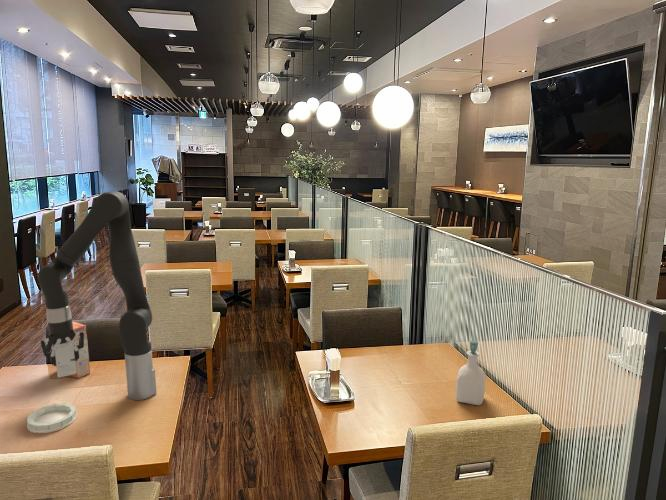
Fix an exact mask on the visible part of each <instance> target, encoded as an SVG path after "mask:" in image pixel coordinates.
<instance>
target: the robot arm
mask: <svg viewBox="0 0 666 500" xmlns="http://www.w3.org/2000/svg"><path fill="white" fill-rule="evenodd" d="M129 205H130V204H129V200H128V198H127V196H125V194H124V193H122V192H120V191H116V190H111V191H105V192H102V193H101V194H99V195H98V196H97V197H96V199H95V200H94V203H93V204H92V206H91V208H90V209H89V211H88V213H87V214H86V216H85V218H84V219H83V220H82V222H81V223H80V225H78V227H77V228H76V229H75V231H73V233H72V234H71V235H70V236H69V237H68V239H67V240H66V241H65V242H64V243H63V244H62V245H61V246H60V248H59V249H58V251H57V253H56V255H55V257H54V258H53V260H52V261H50V263H47V264H46V265H44V266H42V267H41V268H40V269H39V271H38V274H37V276H38V277H37V280H38V283H39V287H40V289H41V291H42V294H43V295H44V302H45V309H46V321H47V328H48V329H47V330H48V337H47V338H40V339H39V343H40V346H41V351H42V353H43V356H44V357H46V358H47V357H49V358H50V359H49V360H50V364H51V365H52V366H54V367H56V358H55V350H57V348H56V347H55V346H57V345H59V344H61V343H66V342H68V343H69V342H72V340H73V339H74V337H75V335H77V337H78V338H79V345H77V346H76V345H75V344H74V342H73V346H74V356H75V361H78V359H79V349H81V348H83V347H84V333H83V331H79V332H74V330H73V323H72V321H73V316H72V309H71V307H70V299H69V294H68V291H67V290H66V289H65V288H63V286H62V281H64V279H66V277H68V275H69V274H70V273H71V271H72V270H73V268H74V266H75V265H76V264H77V263H78V261H80V260H81V259H82V257H83V256H84V255H85V253H87V251H88V250H89V249H90V247H91V245H92V244H93V243H94V241H95V239H96V237H97V236H98V235H99V233H100V232H101V231H102V230H103V229H104V228H105V227H106V226H107V225H108V228H109V250H108V251H109V254H108V255H109V256H108V257H109V263H110V267H111V272H112V276H113V278H114V280H115V282H116V283H117V285H118V286H119V288H120V289H121V290H122V292H123V294H124V297H125V302H126V310H127V311H126V312H125V313H124V314H123V315H122V316H120V319H119V335H120V343H121V346H122V348H123V350H124V352H123V353H124V362H125V363H124V364H125V374H126V375H125V377H126V387H127V388H126V389H127V391H126V392H127V397H128V398H129V399H130V400H132V401H142V400H146V399H149V398H151V397H153V396H154V395H157V382H156V381H157V380H156V369H154V363H153V351H152V350H153V349H152V342H151V341H150V340H149V339H148V334H147V333H148V331H147V329H148V328H149V327H150V326H151V324H152V322H153V315H152V314H153V313H152V310H151V307H150V304H149V301H148V299H147V295H146V290H145V286H144V280H143V275H142V270H141V264H140V260H139V255H138V252H137V251H138V250H137V246H136V241H135V239H134V234H133V231H132V225H131V216H130V213H131V212H130V206H129ZM48 342H49V343H51V344H52V345H51V348H50V351H48V348H47V345H48ZM54 345H55V346H54Z"/></svg>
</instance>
